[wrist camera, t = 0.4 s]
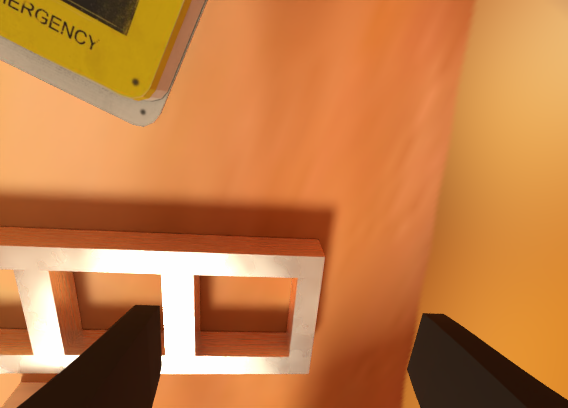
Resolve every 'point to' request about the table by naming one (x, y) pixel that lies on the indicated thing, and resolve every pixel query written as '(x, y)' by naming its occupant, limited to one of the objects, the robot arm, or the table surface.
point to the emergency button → (102, 49)
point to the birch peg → (22, 393)
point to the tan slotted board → (175, 292)
